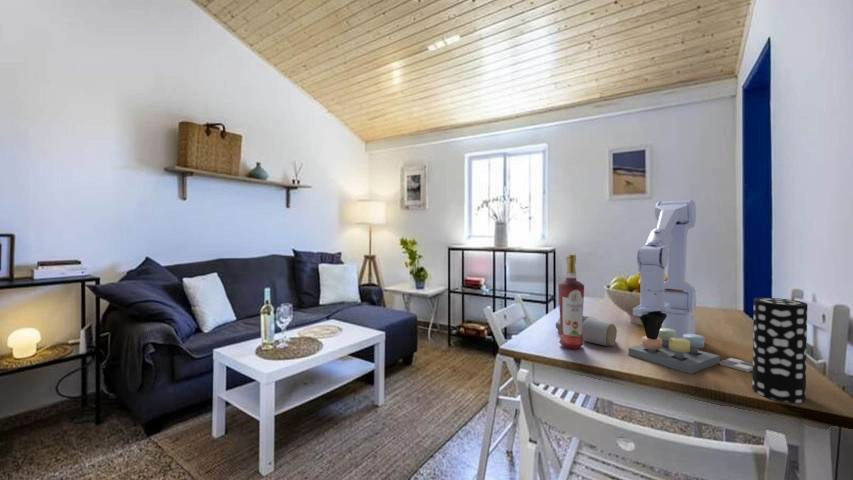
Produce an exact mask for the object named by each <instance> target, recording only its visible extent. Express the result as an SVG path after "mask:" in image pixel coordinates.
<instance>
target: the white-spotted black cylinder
mask: <svg viewBox="0 0 853 480" xmlns="http://www.w3.org/2000/svg"><path fill="white" fill-rule="evenodd" d="M808 306H809V305H808V303H807V302H804V301H799V300H794V299H787V298H777V297H776V298H775V297H754V298H753V317H752V318H753V320H752V321H753V325H752V330H753V331H752V332H753V333H752V363H753V370H752V382H751V383H752V385H751V386H752V391H753V392H755V393H756V394H758V395H760V396H763V397H765V398H767V399H770V400H775V401H779V402H785V403H792V404H793V403H795V404H799V403H805V402H806V400H807V397H806V395H807V393H806V392H807V391H806V390H807V356H808V355H807V351H808V350H807V346H808V344H807V343H808Z"/></svg>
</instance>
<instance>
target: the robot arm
mask: <svg viewBox="0 0 853 480" xmlns="http://www.w3.org/2000/svg"><path fill="white" fill-rule="evenodd" d="M654 206H655V207H654V216H655V219H656V221H657V224H656V228H654V229H651V231H650V232H649V234H648V237H647V239H646V240H645V244H644V245H643V246H641V247H639V248H638V250H637V252H636V262H637V267H638V270H637V271H638V273H640V275H639V276H640V277H639V279H640V282H639V283H640V285H639V286H640V287H639V290H640V291H639V298H640V299H639V304H638V305H637V306H635V307H633V308H632V316H636V317H638V318H639V319H640V321H641V323H642V325H643V329H644V332H645V336H647V338H649V339H653V340H655V339H657V338H658V334H659V331H660V328H669V329H673V330H675V331H676V338H682V339H683V334H696V319H695V316H694V314H693V312H695V310H696V307H697V296H696V289H695V287H694V286H693V285H691V284H690V283H688V282H687V281H686V269H687V268H686V263H687V262H686V261H687V247H688V246H687V241H688V233H689V229H692V228H694V227H695V225H696V218H697V207H696V202H695V201H694V200H693V199H687V200H670V201H668V200H666V201H658V202H656V204H655V205H654ZM666 267H667V277H665V275H666V274H665V271H666V270H665V268H666ZM665 278H667V280H666V279H665ZM678 290H679V291H678Z"/></svg>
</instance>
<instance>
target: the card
mask: <svg viewBox="0 0 853 480" xmlns="http://www.w3.org/2000/svg"><path fill="white" fill-rule="evenodd" d="M719 365H720V366H723V367H728V368H731V369H734V370H739V371H742V372H745V373H746V372H747V373H750V372H753V362H749V361H744V360H741V359H736V358H733V357H729V358H727V359H725V360H722V361H719Z"/></svg>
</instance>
